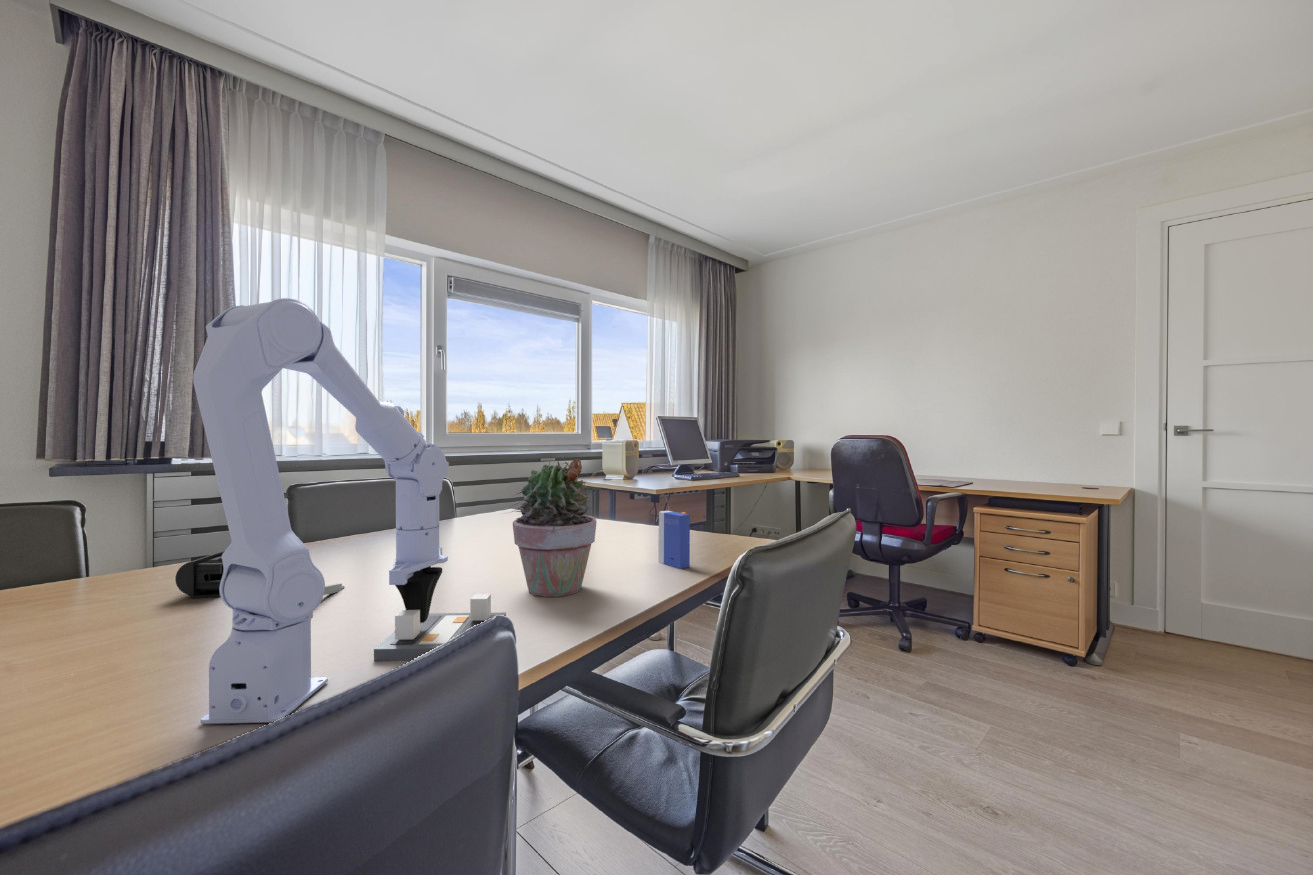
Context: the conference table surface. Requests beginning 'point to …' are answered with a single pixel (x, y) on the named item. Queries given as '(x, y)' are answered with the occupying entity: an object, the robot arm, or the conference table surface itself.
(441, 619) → the dip bank
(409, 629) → the switch
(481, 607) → the switch
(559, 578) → the potted plant
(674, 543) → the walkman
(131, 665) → the conference table surface
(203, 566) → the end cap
